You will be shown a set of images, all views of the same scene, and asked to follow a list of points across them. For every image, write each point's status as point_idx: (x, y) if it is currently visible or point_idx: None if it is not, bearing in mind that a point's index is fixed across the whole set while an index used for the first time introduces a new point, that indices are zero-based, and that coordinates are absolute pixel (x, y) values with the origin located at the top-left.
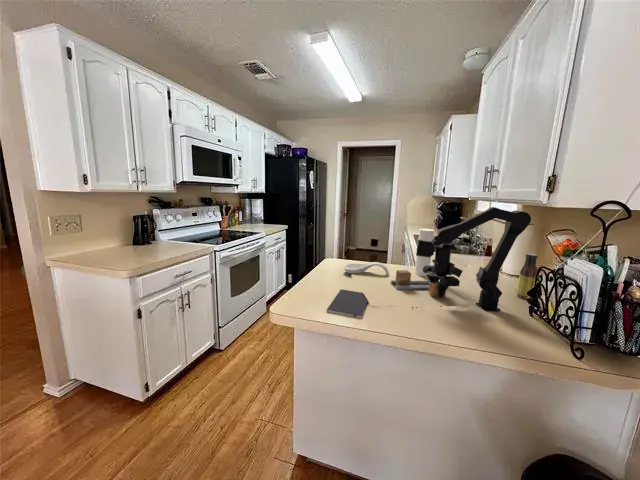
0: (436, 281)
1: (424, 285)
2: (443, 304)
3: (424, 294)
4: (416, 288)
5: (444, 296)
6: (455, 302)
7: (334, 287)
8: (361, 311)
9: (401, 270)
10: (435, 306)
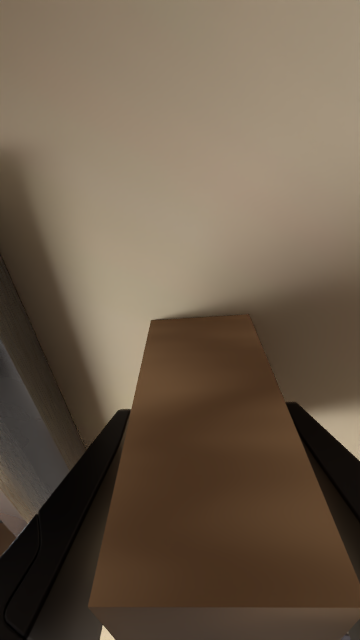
0: (55, 634)
1: None
2: (333, 362)
3: (92, 424)
4: (46, 500)
5: (263, 359)
6: (310, 181)
7: (110, 634)
8: (345, 637)
9: None
10: (354, 433)
